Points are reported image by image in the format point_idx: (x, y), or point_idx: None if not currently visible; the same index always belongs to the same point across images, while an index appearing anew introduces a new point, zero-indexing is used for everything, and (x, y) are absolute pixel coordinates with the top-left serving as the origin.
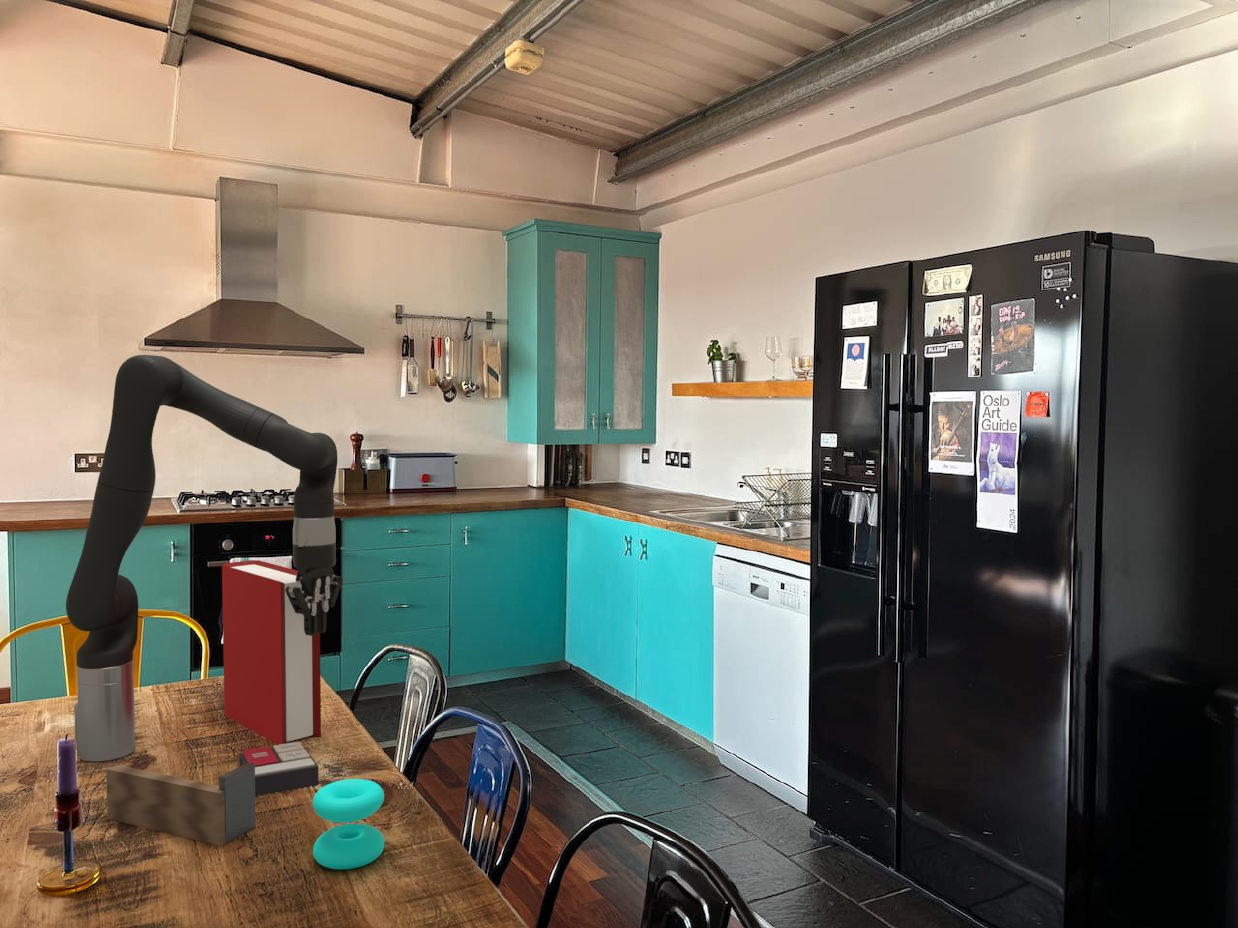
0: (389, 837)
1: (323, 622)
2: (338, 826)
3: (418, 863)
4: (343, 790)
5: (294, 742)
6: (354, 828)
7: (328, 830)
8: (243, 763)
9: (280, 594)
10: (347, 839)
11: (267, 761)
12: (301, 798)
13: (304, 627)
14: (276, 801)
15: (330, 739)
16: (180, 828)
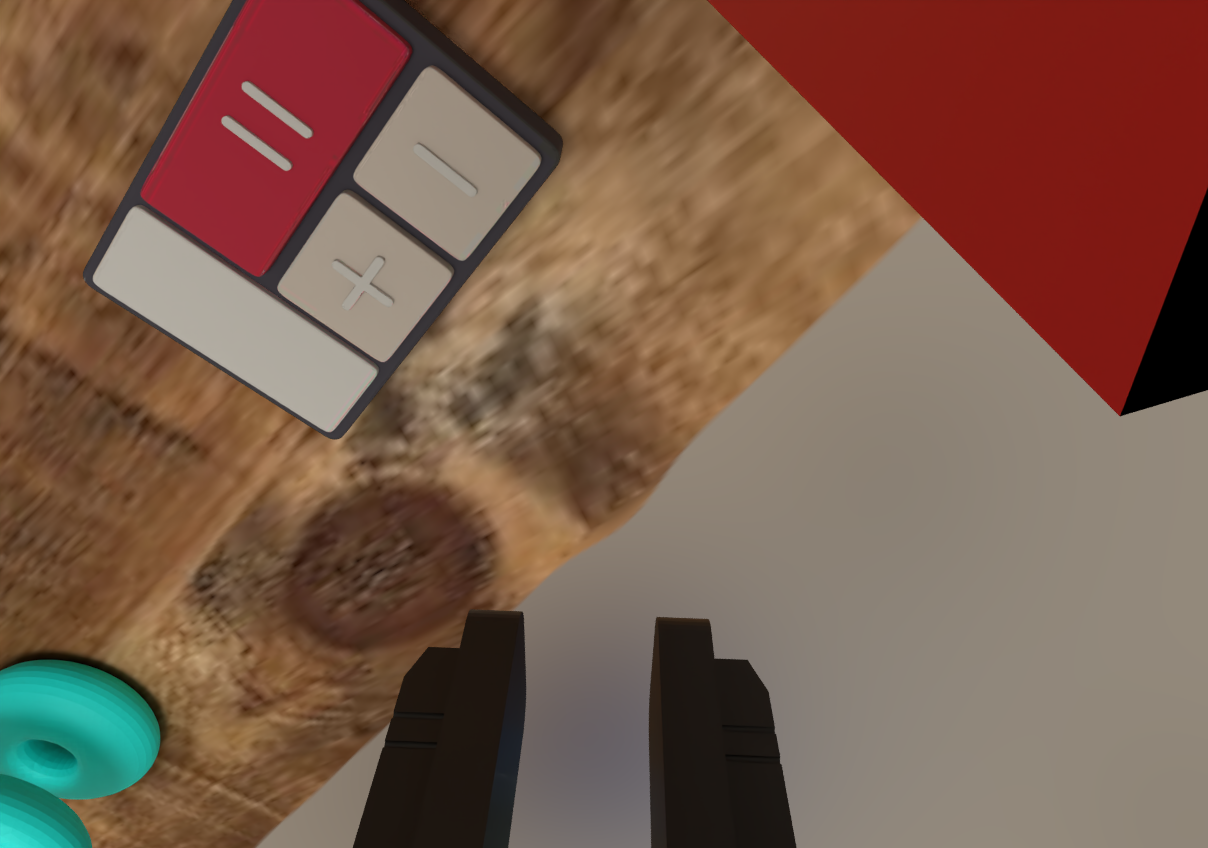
0: (212, 734)
1: (651, 839)
2: (48, 728)
3: (163, 818)
4: None
5: (516, 149)
6: (75, 756)
7: (21, 715)
8: (190, 77)
9: (787, 80)
10: (18, 774)
11: (226, 231)
12: (236, 422)
13: (394, 714)
14: (162, 362)
15: (825, 120)
16: None
